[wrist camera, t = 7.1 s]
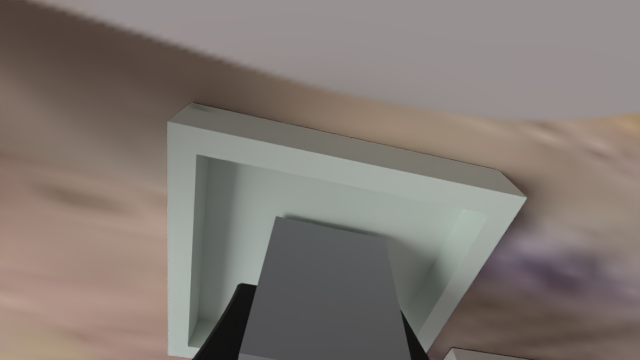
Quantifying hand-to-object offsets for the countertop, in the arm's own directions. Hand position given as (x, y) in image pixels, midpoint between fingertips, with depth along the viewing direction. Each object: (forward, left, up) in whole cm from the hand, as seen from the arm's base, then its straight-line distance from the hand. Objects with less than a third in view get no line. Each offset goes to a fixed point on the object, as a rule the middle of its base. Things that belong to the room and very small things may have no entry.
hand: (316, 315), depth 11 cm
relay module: (0, 0, -2) cm, 2 cm away
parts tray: (0, 0, -3) cm, 3 cm away
